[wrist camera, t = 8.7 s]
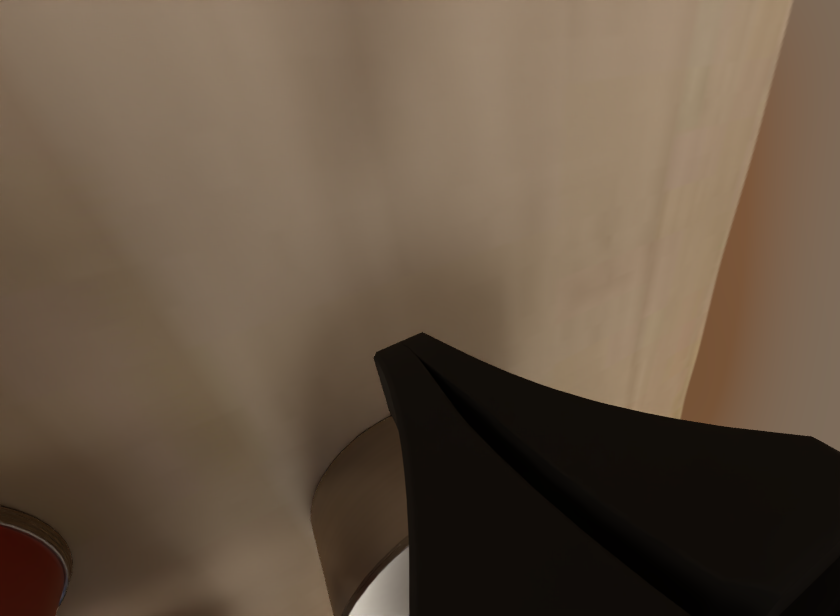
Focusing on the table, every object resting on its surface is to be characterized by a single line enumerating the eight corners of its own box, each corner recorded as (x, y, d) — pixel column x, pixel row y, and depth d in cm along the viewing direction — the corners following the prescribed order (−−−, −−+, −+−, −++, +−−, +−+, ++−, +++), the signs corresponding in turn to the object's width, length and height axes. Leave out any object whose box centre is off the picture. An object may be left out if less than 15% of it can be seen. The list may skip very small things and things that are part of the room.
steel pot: (253, 539, 15) (272, 716, 11) (419, 361, 15) (506, 469, 10) (404, 568, 21) (455, 691, 16) (525, 440, 20) (609, 530, 16)
